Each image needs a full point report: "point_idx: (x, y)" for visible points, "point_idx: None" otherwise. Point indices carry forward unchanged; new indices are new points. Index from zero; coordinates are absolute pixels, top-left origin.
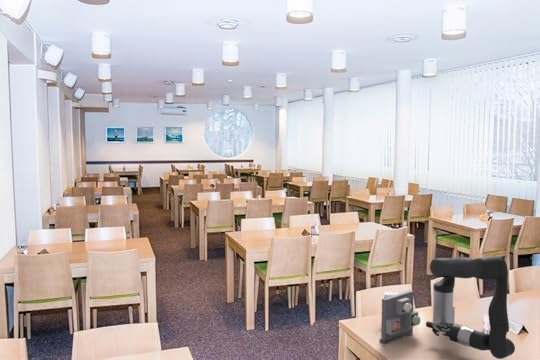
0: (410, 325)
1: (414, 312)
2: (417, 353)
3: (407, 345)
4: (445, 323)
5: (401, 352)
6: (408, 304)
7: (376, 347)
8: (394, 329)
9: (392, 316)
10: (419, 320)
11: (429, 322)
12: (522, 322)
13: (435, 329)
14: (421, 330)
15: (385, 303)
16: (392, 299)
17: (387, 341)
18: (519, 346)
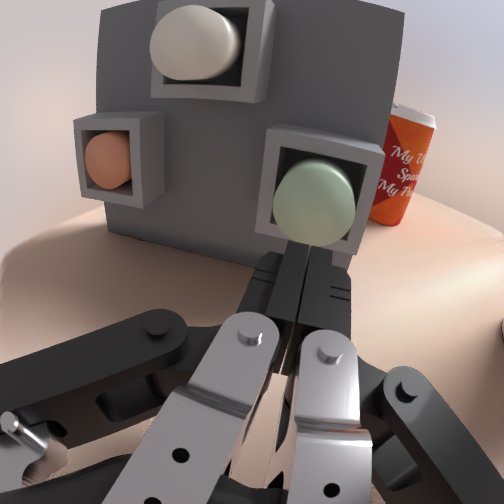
0: (261, 218)
1: (341, 141)
2: (18, 357)
3: (121, 301)
4: (461, 465)
5: (26, 290)
6: (178, 11)
7: (70, 220)
8: (96, 174)
9: (148, 107)
10: (339, 218)
11: (292, 262)
12: None
13: (4, 370)
14: (410, 310)
15: (100, 27)
16: (152, 6)
17: (122, 228)
18: None
